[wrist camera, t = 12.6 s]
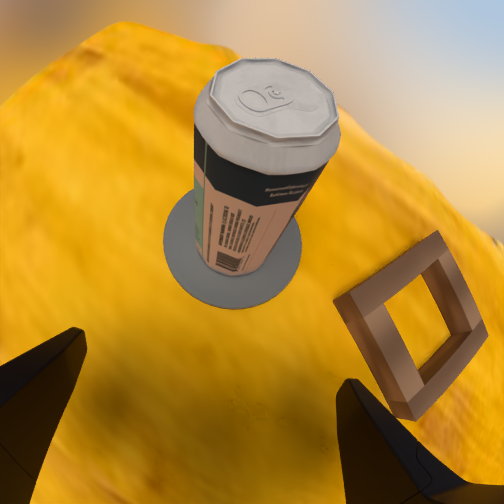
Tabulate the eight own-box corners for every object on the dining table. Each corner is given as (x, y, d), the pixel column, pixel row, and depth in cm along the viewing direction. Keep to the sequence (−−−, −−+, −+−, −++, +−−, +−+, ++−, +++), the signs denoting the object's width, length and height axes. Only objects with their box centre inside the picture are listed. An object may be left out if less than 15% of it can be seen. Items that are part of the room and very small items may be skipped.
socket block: (468, 339, 20) (488, 335, 17) (394, 417, 17) (415, 421, 14) (419, 241, 22) (437, 229, 20) (332, 301, 19) (349, 292, 17)
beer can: (284, 254, 19) (380, 127, 8) (220, 292, 18) (254, 179, 7) (244, 197, 20) (289, 44, 9) (181, 228, 19) (168, 69, 8)
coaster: (323, 269, 20) (326, 268, 19) (202, 334, 17) (202, 334, 17) (258, 166, 22) (259, 163, 21) (144, 211, 19) (143, 208, 19)
